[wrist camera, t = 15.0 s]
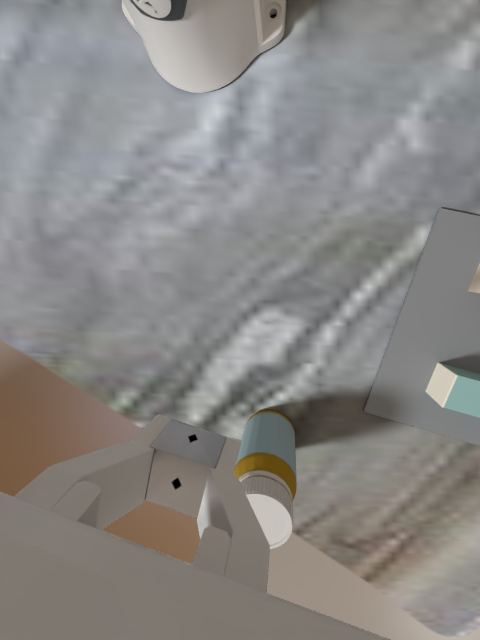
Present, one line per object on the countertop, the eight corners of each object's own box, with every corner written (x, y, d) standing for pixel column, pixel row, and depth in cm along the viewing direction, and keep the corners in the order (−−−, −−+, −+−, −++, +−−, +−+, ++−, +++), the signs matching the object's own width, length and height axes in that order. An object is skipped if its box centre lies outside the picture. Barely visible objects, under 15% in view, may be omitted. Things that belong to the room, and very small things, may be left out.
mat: (438, 208, 32) (440, 208, 32) (595, 240, 31) (598, 240, 30) (363, 410, 38) (363, 412, 38) (490, 447, 37) (492, 449, 36)
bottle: (299, 414, 40) (304, 501, 26) (289, 457, 42) (289, 562, 27) (250, 403, 41) (228, 480, 26) (242, 445, 42) (217, 541, 28)
